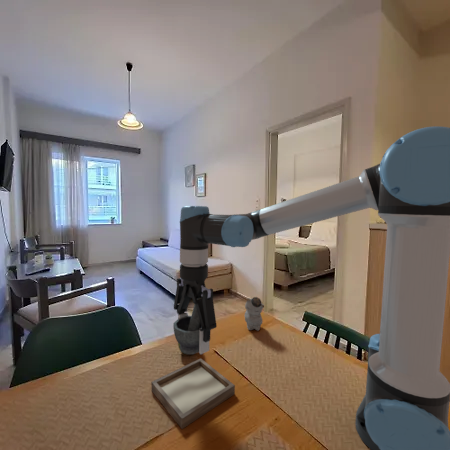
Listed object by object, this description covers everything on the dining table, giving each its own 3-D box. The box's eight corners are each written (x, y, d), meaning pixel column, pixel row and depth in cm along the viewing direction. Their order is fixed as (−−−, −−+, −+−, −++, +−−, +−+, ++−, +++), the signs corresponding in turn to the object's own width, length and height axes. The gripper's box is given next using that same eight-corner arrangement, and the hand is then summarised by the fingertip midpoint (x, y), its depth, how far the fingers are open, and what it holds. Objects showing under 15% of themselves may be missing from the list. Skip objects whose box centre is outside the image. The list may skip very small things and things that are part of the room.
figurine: (240, 333, 104) (241, 297, 103) (248, 322, 113) (248, 290, 112) (261, 337, 101) (262, 301, 99) (267, 326, 110) (268, 293, 109)
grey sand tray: (234, 394, 70) (234, 385, 70) (181, 429, 59) (182, 418, 59) (200, 365, 82) (200, 358, 82) (151, 390, 71) (151, 381, 71)
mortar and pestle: (200, 361, 63) (201, 315, 62) (166, 354, 66) (167, 309, 65) (215, 339, 74) (215, 299, 73) (185, 333, 77) (186, 295, 76)
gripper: (232, 270, 62) (230, 357, 64) (183, 254, 78) (183, 324, 80) (208, 275, 57) (206, 369, 59) (161, 257, 74) (161, 331, 75)
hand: (193, 343), depth 70 cm, fingers closed on mortar and pestle, 10 cm apart
